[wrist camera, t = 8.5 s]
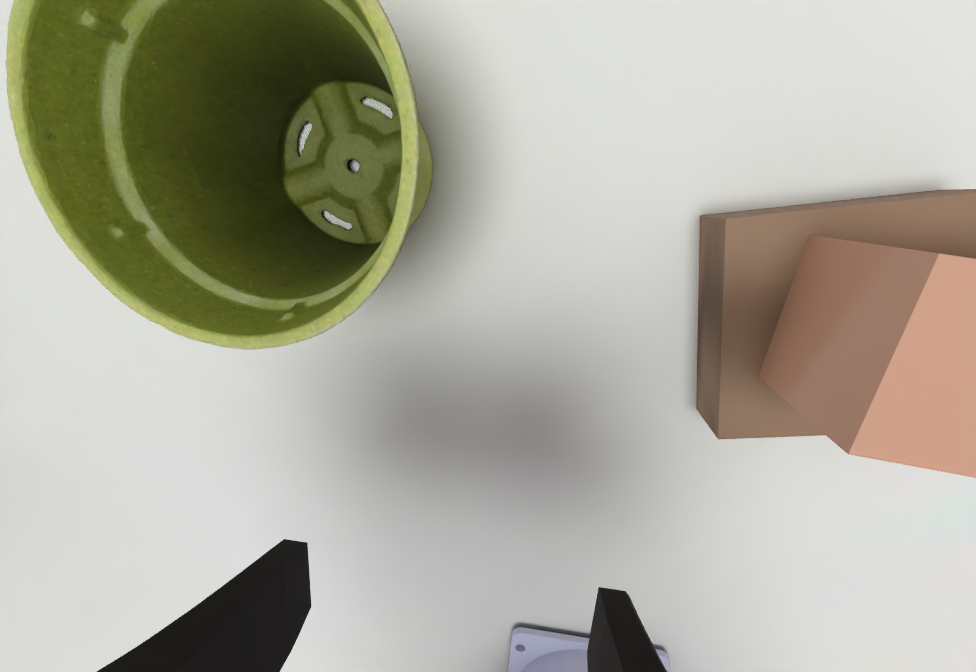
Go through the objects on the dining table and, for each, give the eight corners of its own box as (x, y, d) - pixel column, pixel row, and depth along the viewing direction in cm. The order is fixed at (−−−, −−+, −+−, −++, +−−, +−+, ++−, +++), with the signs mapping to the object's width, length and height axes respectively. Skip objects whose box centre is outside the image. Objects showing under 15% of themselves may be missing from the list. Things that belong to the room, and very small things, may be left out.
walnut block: (898, 394, 18) (963, 429, 16) (693, 404, 20) (718, 439, 17) (930, 190, 16) (1012, 188, 13) (696, 215, 17) (725, 218, 15)
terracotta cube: (905, 403, 16) (1064, 493, 11) (757, 377, 16) (848, 453, 11) (975, 259, 14) (1194, 292, 9) (809, 234, 14) (939, 253, 10)
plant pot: (518, 99, 17) (492, 2, 8) (423, 321, 20) (334, 411, 11) (286, -15, 16) (25, -230, 8) (226, 226, 19) (-11, 248, 11)
